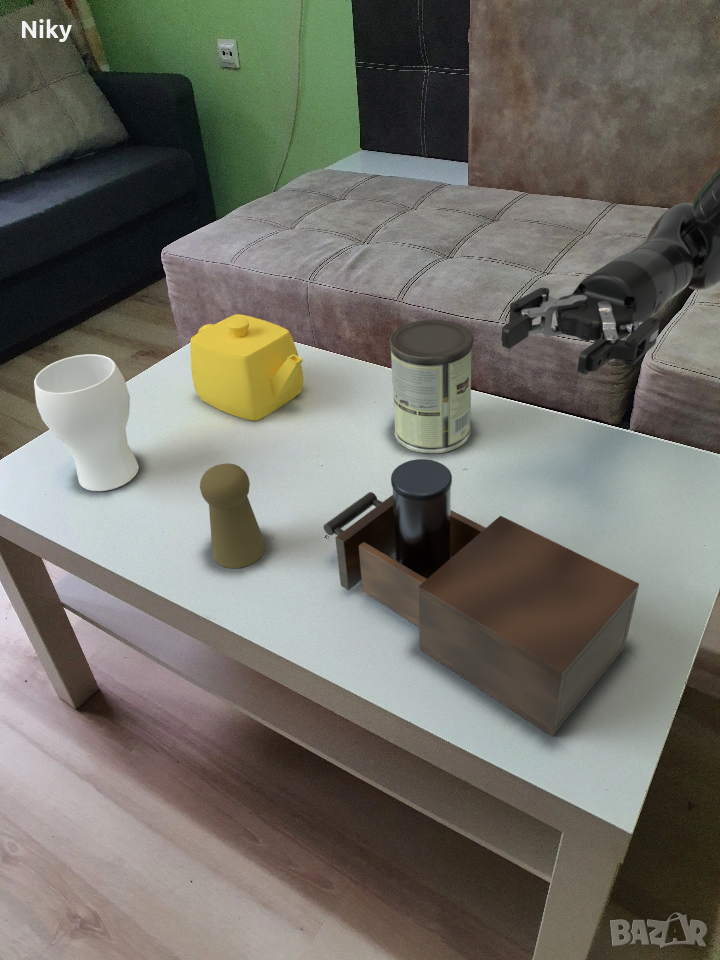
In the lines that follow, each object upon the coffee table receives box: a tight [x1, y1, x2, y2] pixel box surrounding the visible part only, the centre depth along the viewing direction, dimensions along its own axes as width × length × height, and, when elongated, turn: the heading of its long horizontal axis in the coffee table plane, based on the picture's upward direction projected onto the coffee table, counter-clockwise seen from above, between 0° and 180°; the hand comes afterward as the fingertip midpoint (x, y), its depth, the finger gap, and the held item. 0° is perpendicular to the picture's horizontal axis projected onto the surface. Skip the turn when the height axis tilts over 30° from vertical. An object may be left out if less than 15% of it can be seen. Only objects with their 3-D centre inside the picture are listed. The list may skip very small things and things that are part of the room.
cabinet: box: [418, 515, 640, 737], centre depth 69 cm, size 15×13×9 cm
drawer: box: [323, 491, 487, 628], centre depth 77 cm, size 18×11×7 cm, turn 47°
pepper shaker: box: [199, 463, 267, 569], centre depth 82 cm, size 6×6×11 cm
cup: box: [33, 353, 139, 492], centre depth 94 cm, size 11×11×15 cm
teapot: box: [190, 313, 304, 422], centre depth 108 cm, size 20×12×12 cm, turn 51°
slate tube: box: [390, 458, 453, 579], centre depth 73 cm, size 6×6×13 cm
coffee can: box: [388, 319, 474, 454], centre depth 97 cm, size 10×10×14 cm
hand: (542, 351), depth 73 cm, fingers open, 8 cm apart
